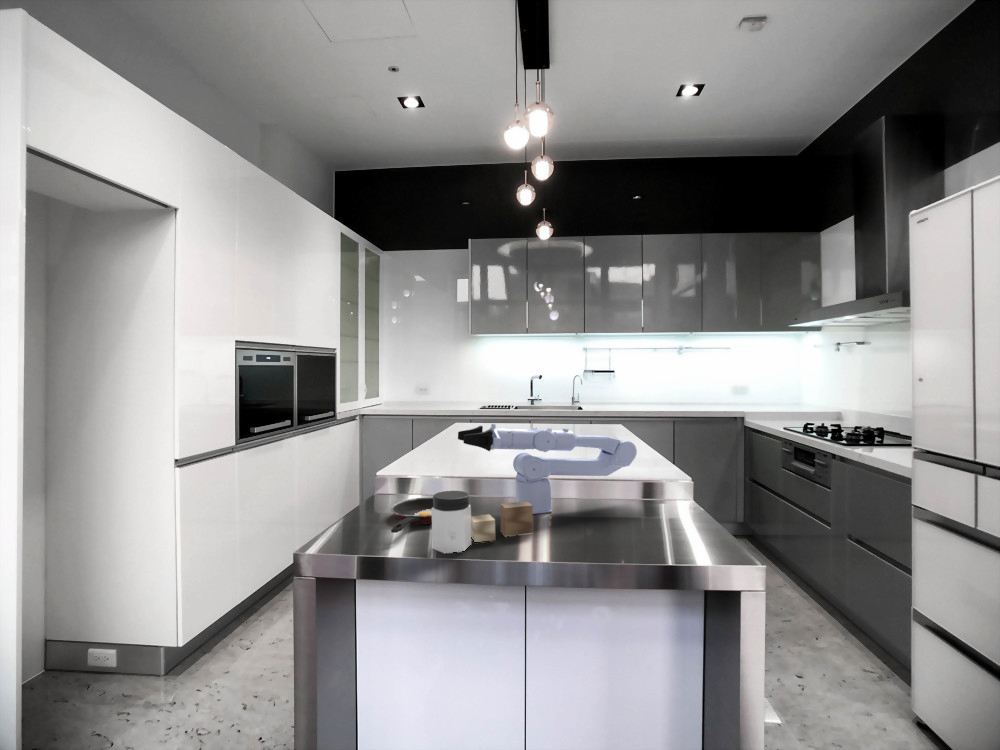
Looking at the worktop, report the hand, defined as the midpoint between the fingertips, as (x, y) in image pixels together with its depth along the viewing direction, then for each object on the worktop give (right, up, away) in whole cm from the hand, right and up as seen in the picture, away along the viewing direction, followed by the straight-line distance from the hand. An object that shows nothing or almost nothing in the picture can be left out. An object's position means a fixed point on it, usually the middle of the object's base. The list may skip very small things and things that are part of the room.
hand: (460, 437), depth 144 cm
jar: (0, -23, -22) cm, 32 cm away
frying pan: (-11, -22, -5) cm, 25 cm away
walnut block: (+15, -22, -13) cm, 29 cm away
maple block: (+6, -22, -17) cm, 29 cm away
